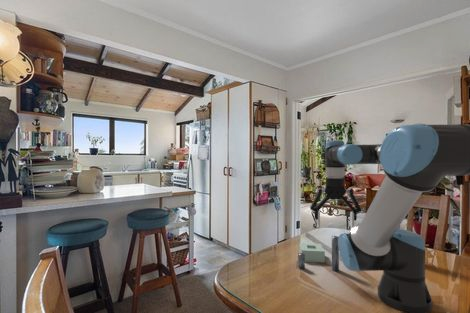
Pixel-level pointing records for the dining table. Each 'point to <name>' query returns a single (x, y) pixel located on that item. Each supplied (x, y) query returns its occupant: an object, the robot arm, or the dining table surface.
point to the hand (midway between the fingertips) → (335, 227)
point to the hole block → (312, 252)
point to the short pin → (301, 260)
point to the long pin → (335, 253)
